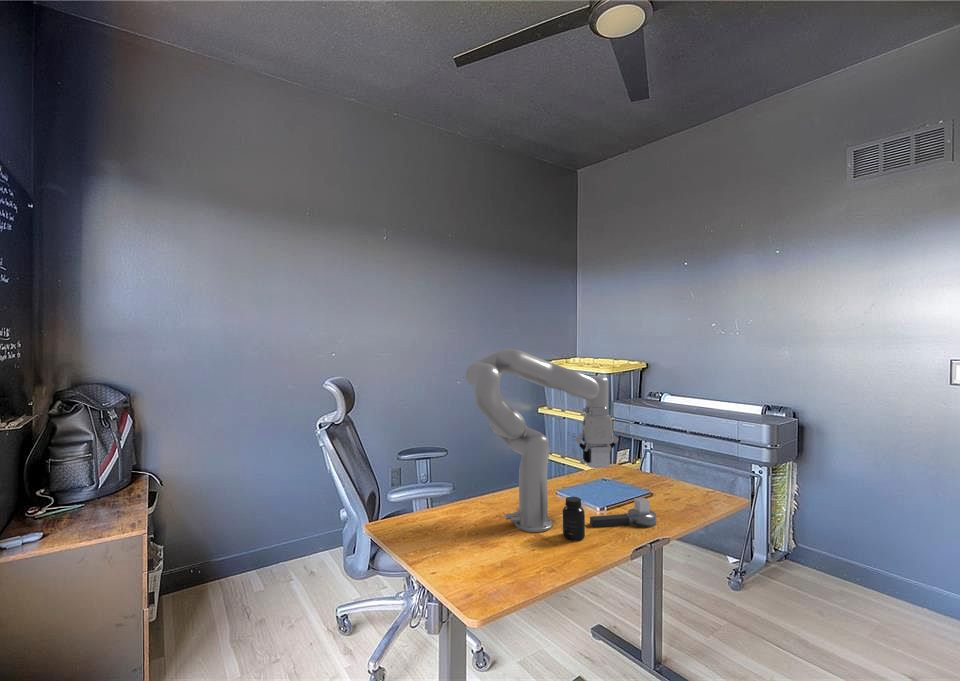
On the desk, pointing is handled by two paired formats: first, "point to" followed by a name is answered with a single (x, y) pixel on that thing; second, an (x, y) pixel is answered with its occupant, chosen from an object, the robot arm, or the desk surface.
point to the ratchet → (628, 516)
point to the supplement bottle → (573, 519)
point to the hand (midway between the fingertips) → (596, 461)
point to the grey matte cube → (599, 456)
